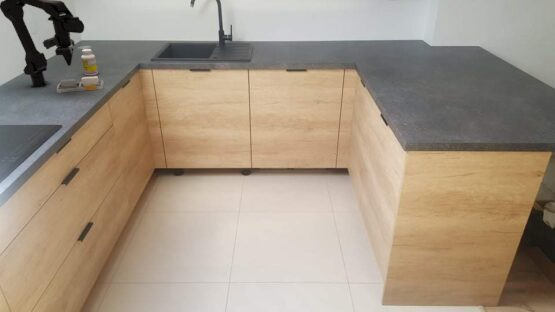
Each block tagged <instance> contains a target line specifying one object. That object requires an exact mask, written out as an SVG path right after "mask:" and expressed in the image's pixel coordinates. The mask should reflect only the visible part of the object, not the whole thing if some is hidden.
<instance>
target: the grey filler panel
mask: <svg viewBox="0 0 555 312" xmlns="http://www.w3.org/2000/svg"><path fill="white" fill-rule="evenodd" d="M76 82H77V81H76V79H75V78H72V79H71V78H70V79H61V80H60V83H61V86H62V87H73V86H77V85H76Z"/></svg>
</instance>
